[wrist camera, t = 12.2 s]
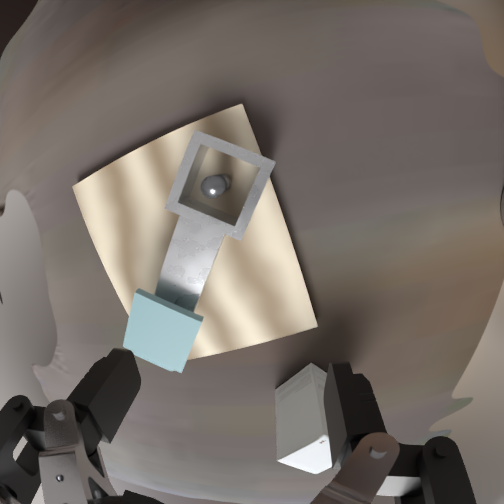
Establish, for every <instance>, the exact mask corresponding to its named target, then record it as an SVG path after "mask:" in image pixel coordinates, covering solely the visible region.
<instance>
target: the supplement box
mask: <svg viewBox="0 0 504 504" xmlns="http://www.w3.org/2000/svg"><path fill="white" fill-rule="evenodd" d="M326 377H327V373H326V372H324V371H323V370H321V369H320V368H319V367H317V366H316V365H314V364H313V363H310V364H309V365H307V366H306V367H305V368H304V369H302V370H301V371H300V372H298V373H297V374H296V375H294V376H293V377H292V378H290V379H289V380H288V381H286V382H285V383H284V384H282V385H281V386H279V387H278V388H277V389H276V390H275V407H276V442H277V461H278V462H281V463H284V464H287V465H290V466H293V467H295V468H298V469H301V470H304V471H307V472H311V473H314V474H317V473H320V472H322V471H324V470H326V469H328V468H330V467H332V461H331V453H330V445H329V437H328V430H327V423H326V416H325V409H324V400H323V396H324V387H325V382H326Z"/></svg>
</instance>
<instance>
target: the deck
mask: <svg viewBox="0 0 504 504" xmlns="http://www.w3.org/2000/svg"><path fill="white" fill-rule="evenodd" d="M194 130H197V131H199V132H202V133H205V134H208V135H210V136H213V137H216V138H219V139H221V140H224V141H226V142H229V143H232V144H234V145H237V146H239V147H242V148H244V149H247V150H249V151H251V152H254V153H256V154H259V155H261V152H260V149H259V147H258V144H257V141H256V139H255V136H254V133H253V131H252V128H251V125H250V123H249V120H248V118H247V115H246V112H245V110H244V107H243V105H242V104H239V105H236V106H234V107H231V108H228V109H225V110H223V111H220V112H218V113H215V114H212V115H210V116H207V117H205V118H203V119H200V120H198V121H195V122H193V123H191V124H188V125H186V126H184V127H181V128H179V129H177V130H175V131H173V132H170V133H168V134H166V135H164V136H162V137H160V138H158V139H156V140H154V141H152V142H150V143H148V144H146V145H144V146H142V147H140V148H138V149H136V150H134V151H132V152H130V153H128V154H127V155H125V156H123V157H121V158H119V159H118V160H116V161H114V162H112V163H110V164H109V165H107V166H105V167H104V168H102V169H100V170H99V171H97V172H95V173H94V174H92V175H90V176H89V177H87V178H85V179H84V180H82V181H81V182H79V183H78V184H76V185H75V186H73V190H74V193H75V196H76V198H77V201H78V204H79V207H80V210H81V212H82V215H83V218H84V220H85V223H86V225H87V228H88V230H89V233H90V235H91V238H92V240H93V242H94V245H95V247H96V249H97V252H98V254H99V256H100V259H101V261H102V263H103V265H104V267H105V269H106V272H107V274H108V276H109V278H110V280H111V282H112V284H113V286H114V288H115V290H116V292H117V294H118V296H119V298H120V300H121V302H122V304H123V306H124V308H125V309H126V311H127V313H128V315H130V310H131V306H132V302H133V298H134V293H135V291H136V290H137V289H138V288H140V289H142V290H145V291H147V292H149V293H151V294H153V295H154V293H155V290H156V287H157V283H158V280H159V277H160V273H161V270H162V267H163V264H164V261H165V257H166V254H167V251H168V248H169V245H170V242H171V239H172V236H173V233H174V230H175V228H176V225H177V222H178V219H179V216H180V215H178V214H176V213H173V212H171V211H169V210H166V209H164V208H165V205H166V202H167V200H168V197H169V194H170V191H171V188H172V186H173V183H174V180H175V177H176V175H177V172H178V170H179V167H180V164H181V162H182V159H183V157H184V154H185V152H186V149H187V147H188V144H189V142H190V139H191V137H192V135H193V132H194ZM261 156H262V155H261ZM259 170H260V167H257V166H255V165H252V164H250V163H248V162H245V161H243V160H240V159H238V158H235V157H233V156H231V155H228V154H225V153H223V152H220V151H218V150H215V149H213V148H210V147H209V149H208V151H207V154H206V156H205V158H204V161H203V163H202V166H201V168H200V171H199V173H198V176H197V178H196V181H195V183H194V186H193V189H192V191H191V194H190V196H189V198H192V199H194V200H197V201H199V202H202V203H204V204H206V205H209V206H211V207H214V208H216V209H218V210H221V211H223V212H226V213H228V214H230V215H233V216H235V217H237V218H239V216H240V214H241V211H242V209H243V207H244V204H245V202H246V200H247V197H248V195H249V193H250V190H251V188H252V186H253V184H254V181H255V179H256V177H257V174H258V172H259ZM222 173H224V174H228V175H229V176H230V177H231V179H232V186H231V188H230V189H229V190H227V191H226V192H224V193H223V194H221V195H220V196H218V197H216V198H207V197H205V196H204V195H203V194H202V192H201V183H202V181H203V180H204V179H205V178H206V177H208V176H212V175H217V174H222ZM195 313H196V314H198V315H201V316H203V317H204V318H203V321H202V323H201V326H200V328H199V331H198V333H197V336H196V338H195V341H194V343H193V345H192V348H191V350H190V353H189V355H188V358H187V360H189V359H194V358H199V357H204V356H209V355H213V354H218V353H222V352H227V351H231V350H235V349H239V348H243V347H247V346H251V345H255V344H259V343H263V342H267V341H270V340H274V339H278V338H281V337H285V336H288V335H292V334H295V333H299V332H302V331H305V330H308V329H312V328H315V327H318V326H317V322H316V319H315V315H314V312H313V309H312V305H311V302H310V299H309V295H308V292H307V289H306V285H305V282H304V279H303V276H302V273H301V269H300V266H299V263H298V260H297V257H296V254H295V251H294V247H293V244H292V241H291V238H290V235H289V232H288V229H287V226H286V223H285V220H284V217H283V214H282V211H281V208H280V206H279V203H278V200H277V197H276V194H275V191H274V188H273V185H272V183H271V180H270V177H269V179H268V181H267V183H266V185H265V188H264V190H263V192H262V194H261V197H260V199H259V201H258V204H257V206H256V208H255V210H254V213H253V215H252V217H251V219H250V222H249V224H248V226H247V229H246V231H245V233H244V235H243V238H242V240H241V241H240V240H237V239H235V238H233V237H230V236H228V235H225V238H224V240H223V243H222V245H221V248H220V250H219V252H218V255H217V257H216V260H215V262H214V265H213V267H212V270H211V272H210V275H209V277H208V280H207V282H206V285H205V287H204V290H203V292H202V295H201V297H200V300H199V303H198V305H197V308H196V310H195Z"/></svg>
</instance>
